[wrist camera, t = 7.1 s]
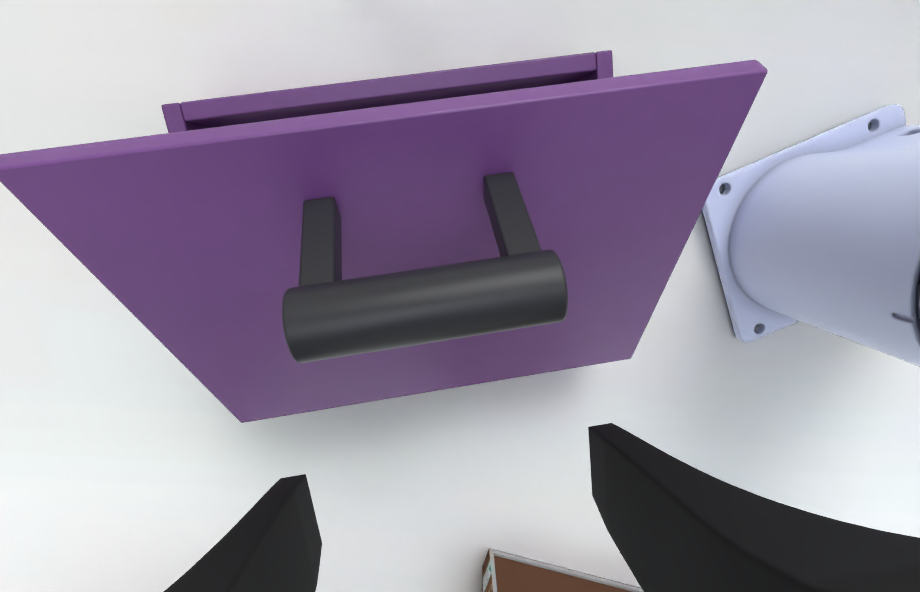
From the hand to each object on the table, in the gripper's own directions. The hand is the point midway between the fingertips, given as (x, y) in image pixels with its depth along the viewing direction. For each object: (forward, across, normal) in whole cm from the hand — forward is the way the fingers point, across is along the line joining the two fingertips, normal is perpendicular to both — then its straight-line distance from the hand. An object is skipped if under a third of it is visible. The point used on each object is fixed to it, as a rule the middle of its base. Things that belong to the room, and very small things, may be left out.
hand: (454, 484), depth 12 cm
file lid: (+3, 0, -4) cm, 6 cm away
